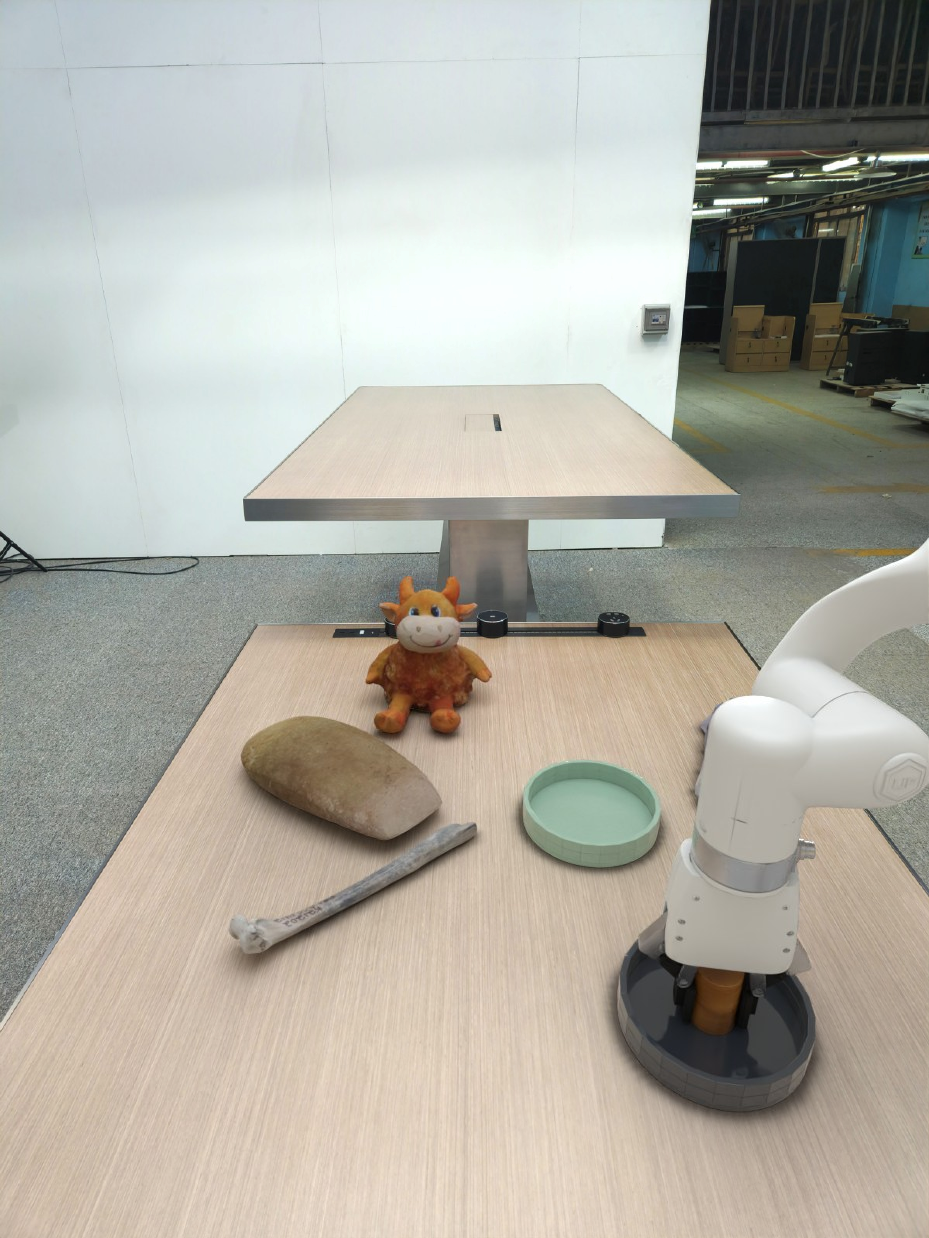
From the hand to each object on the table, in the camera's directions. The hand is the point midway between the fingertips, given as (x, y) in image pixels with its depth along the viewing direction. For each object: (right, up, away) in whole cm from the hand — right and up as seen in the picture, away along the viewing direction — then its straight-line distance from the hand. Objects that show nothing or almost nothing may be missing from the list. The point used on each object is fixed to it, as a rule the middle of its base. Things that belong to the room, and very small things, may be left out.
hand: (711, 1009), depth 66 cm
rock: (+14, +15, +36) cm, 41 cm away
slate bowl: (0, -1, +1) cm, 1 cm away
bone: (-32, +5, +15) cm, 36 cm away
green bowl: (-7, +10, +25) cm, 28 cm away
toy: (-28, +21, +51) cm, 62 cm away
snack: (0, -1, 0) cm, 1 cm away
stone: (-39, +12, +31) cm, 51 cm away
